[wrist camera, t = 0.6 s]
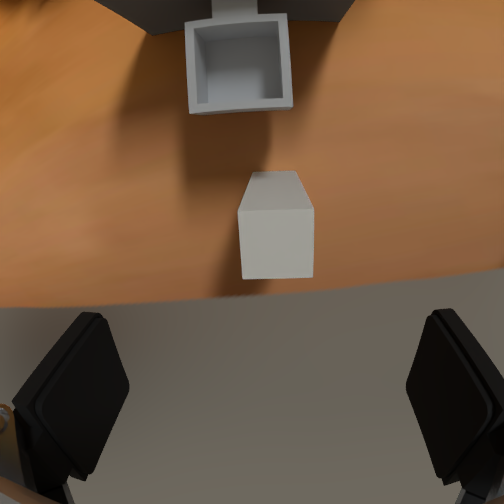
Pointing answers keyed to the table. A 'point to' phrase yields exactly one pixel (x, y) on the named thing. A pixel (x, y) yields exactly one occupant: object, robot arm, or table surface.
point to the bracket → (232, 46)
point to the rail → (276, 227)
